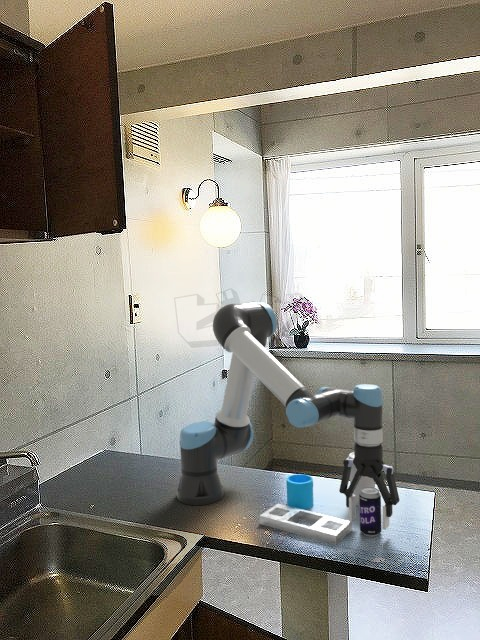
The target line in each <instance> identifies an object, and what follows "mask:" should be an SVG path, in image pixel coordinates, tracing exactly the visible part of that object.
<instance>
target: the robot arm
mask: <svg viewBox="0 0 480 640" xmlns="http://www.w3.org/2000/svg"><path fill="white" fill-rule="evenodd" d="M277 328H278V318H277V315H276V313H275V311H274V309H273V307H272V306H270V305H269V304H267V303H266V302H262V301H250V302H242V303H230V304H229V303H228V304H226V305H224V306H222V307H221V308H220V309H218V310H217V312H216V314H215V315H214V316H213V321H212V331H213V334H214V337H215V339H216V341H217V342H218V344H219V345H220V346H221V347H222V348H223V349H224V350H225V352H227V353H231V359H230V365H229V368H228V374H227V375H228V376H227V379H226V385H225V389H224V390H225V391H224V396H223V402H222V406H221V409H220V410H218V411H217V412H216V414H215V418H214V419H215V420H214V422H211V421H207V420H206V421H205V420H204V421H198V422H197V421H196V422H192V423H190V424H187V425H185V426H184V427H183V428H182V429H181V431H180V433H179V437H180V438H179V439H180V440H179V448H180V449H179V450H180V464H181V465H180V466H181V468H180V469H181V475H180V479H179V483H178V487H177V490H176V497H177V500H178V501H179V502H180V503H181V504H185V505H189V506H190V505H191V506H205V505H210V504H213V503H216V502H219V501H220V500H222V499H223V497H224V494H225V493H224V486H223V485H222V482H221V479H220V475H219V474H218V460H222V459H224V458H227V457H230V456H233V455H237V454H240V453H242V452H244V451H245V450H247V449H248V448H249V447H250V446H251V445H252V443H253V440H254V434H255V433H254V432H255V431H254V429H252V428H253V425H252V423H251V421H250V417H249V416H248V408H249V404H250V400H251V394H252V390H253V384H254V381H255V380H254V379H255V377H256V378H257V379H258V380H259V381H260V382H261V383H262V385H264V386H265V387H266V388H267V389H268V390H269V391H270V392H271V393H272V395H274V396H275V398H277V400H279V402H281V404H282V405H283V406H284V407H285V415H286V417H287V420H288V422H289V423H290V425H292V426H294V427H296V428H306V427H312V426H314V425H316V424H319V423H321V422H323V421H324V422H325V421H328V420H330V419H333V418H337V417H343V418H347V419H353V440H354V443H353V444H354V445H353V452H354V455H355V457H354V459H351V458H348V457H347V458H345V459H344V460H343V462H342V463H343V471H342V475H341V476H342V477H341V481H340V486H339V491H338V492H339V493H340V494H343V495H344V496H345V505H346V508H348V521H352V522H353V521H354V520H355V519H356V517H357V515H356V514H357V513H356V511H357V507H356V495H352V494H353V493H354V490H355V488H356V486H357V484H358V482H359V480H360V479H361V477H362V476H364V477H366V476H367V477H369V478H373V480H374V482H375V485H376V486H377V489H378V490H379V493H380V495H381V499H382V500H383V502H384V503H383V504H382V530H387V529H388V528H389V527H390V518H391V517H392V515H393V506H396V505H398V504H399V502H400V495H399V491H398V487H397V483H396V477H395V468H396V467H395V466H394V465H387V464H385V463H384V461H383V460H384V459H383V458H384V457H383V455H384V453H383V452H384V451H383V450H384V449H383V448H384V447H383V444H382V443H383V441H384V439H383V438H384V437H383V435H384V434H383V405H384V401H383V391H382V388H381V387H380V386H378V385H376V384H370V383H368V384H365V383H361V384H357V385H354V387H353V390H350V389H345V388H343V389H342V388H337V387H333V386H330V387H329V386H322V387H320V388H319V389H318V390H317V391H316V392H315V393H312V392H311V391H310V390H309V389H308V388H307V387H306V386H304V384H302V383H301V381H300V380H298V378H296V377H295V376H294V375H293V374H292V373H291V371H289V370H288V369H287V368H286V367H285V366H284V365H283V364H282V363H281V362H280V361H279V360H278V359H277V358H276V357H275V356H274V355H273V354H272V353H271V352H269V350H268V349H266V345H267V341H268V338H271V336H272V335H274V334H275V332H276V331H277ZM353 464H354V465H355V467H356V469H357V471H356V473H355V475H354V478H353V480H352V482H351V484H350V483H349V482H350V473H351V468H352V466H353ZM382 471H384V474H385V476H386V477H385V478H386V482H387V484H386V482H385V480H384V475H383V473H382Z"/></svg>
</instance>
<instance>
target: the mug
mask: <svg viewBox="0 0 480 640" xmlns="http://www.w3.org/2000/svg"><path fill="white" fill-rule="evenodd" d="M285 481H286V506H291V507H295V508H299V509H303V510H309V509H311V508H313V507H314V479H313V477H312V476H311V475H309V474H303V473H298V474H291V475H288V476H287V477H286V480H285Z"/></svg>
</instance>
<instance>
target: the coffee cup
mask: <svg viewBox="0 0 480 640" xmlns="http://www.w3.org/2000/svg"><path fill="white" fill-rule="evenodd" d="M354 457H355V455H354V451H353V452H352V451H351V452H350V453H349V454H348V457H347V458H351V459H354ZM356 471H357V469H356V467H355V465H354V464H353V466H352V468H351V473H350V477H349V482H350V483H349V485H350V484H351V482H352V480H353V478H354V475H355V473H356ZM365 487H373V488H376V482H374V480H373V478H369V477H367V476H366V477H364V476H362V477H361V479H360V480H359V482H358V484H357V486H356V488H355V490H354V493H353V494H352V495H356V506H357V507H360V504H359V494H360V492H361V489H362V488H365Z"/></svg>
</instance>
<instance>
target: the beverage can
mask: <svg viewBox="0 0 480 640" xmlns="http://www.w3.org/2000/svg"><path fill="white" fill-rule="evenodd" d="M359 504H360V506H359V530H360V533H362V534H363V536H366V537H377V536H379V534H381V533H382V495H381V493H380V491H379V489H378V488H376V487H375V488H373V487H365V488H362V489H361V492H360V494H359Z"/></svg>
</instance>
